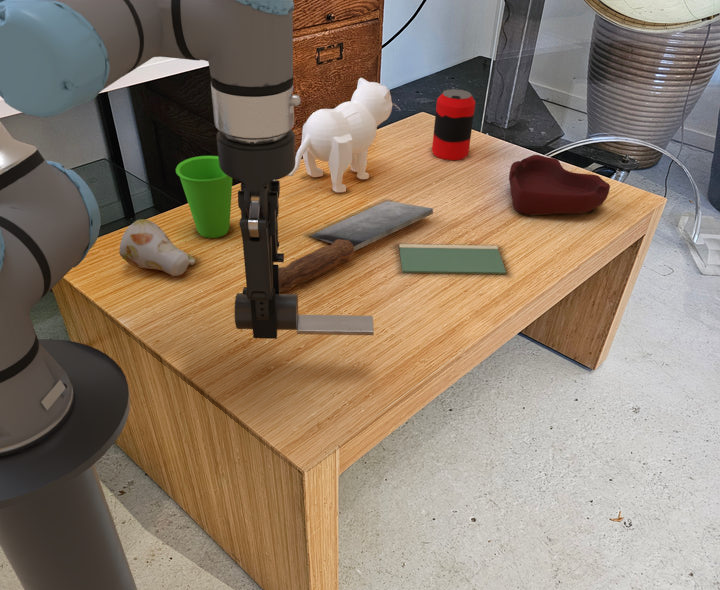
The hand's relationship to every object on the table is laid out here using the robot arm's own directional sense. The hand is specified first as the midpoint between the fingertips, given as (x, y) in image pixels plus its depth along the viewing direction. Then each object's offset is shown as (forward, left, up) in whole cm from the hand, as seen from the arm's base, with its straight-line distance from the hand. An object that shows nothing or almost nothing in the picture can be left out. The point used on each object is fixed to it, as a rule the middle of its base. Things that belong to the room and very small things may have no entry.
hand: (267, 323), depth 78 cm
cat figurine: (-22, +51, -7) cm, 56 cm away
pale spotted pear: (-28, +10, -7) cm, 31 cm away
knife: (+4, +2, 0) cm, 5 cm away
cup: (-29, +23, -7) cm, 38 cm away
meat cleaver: (-9, +31, -7) cm, 33 cm away
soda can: (-10, +75, -7) cm, 76 cm away
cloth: (+8, +37, -7) cm, 38 cm away
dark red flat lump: (+14, +64, -7) cm, 66 cm away
